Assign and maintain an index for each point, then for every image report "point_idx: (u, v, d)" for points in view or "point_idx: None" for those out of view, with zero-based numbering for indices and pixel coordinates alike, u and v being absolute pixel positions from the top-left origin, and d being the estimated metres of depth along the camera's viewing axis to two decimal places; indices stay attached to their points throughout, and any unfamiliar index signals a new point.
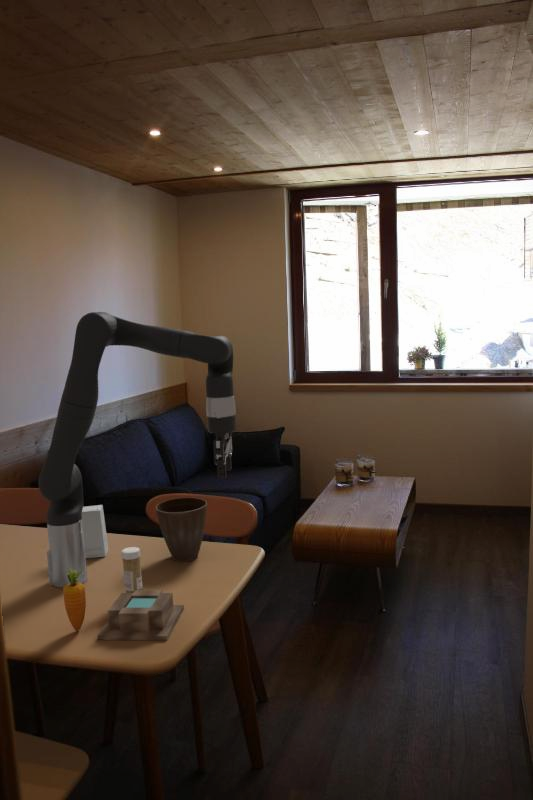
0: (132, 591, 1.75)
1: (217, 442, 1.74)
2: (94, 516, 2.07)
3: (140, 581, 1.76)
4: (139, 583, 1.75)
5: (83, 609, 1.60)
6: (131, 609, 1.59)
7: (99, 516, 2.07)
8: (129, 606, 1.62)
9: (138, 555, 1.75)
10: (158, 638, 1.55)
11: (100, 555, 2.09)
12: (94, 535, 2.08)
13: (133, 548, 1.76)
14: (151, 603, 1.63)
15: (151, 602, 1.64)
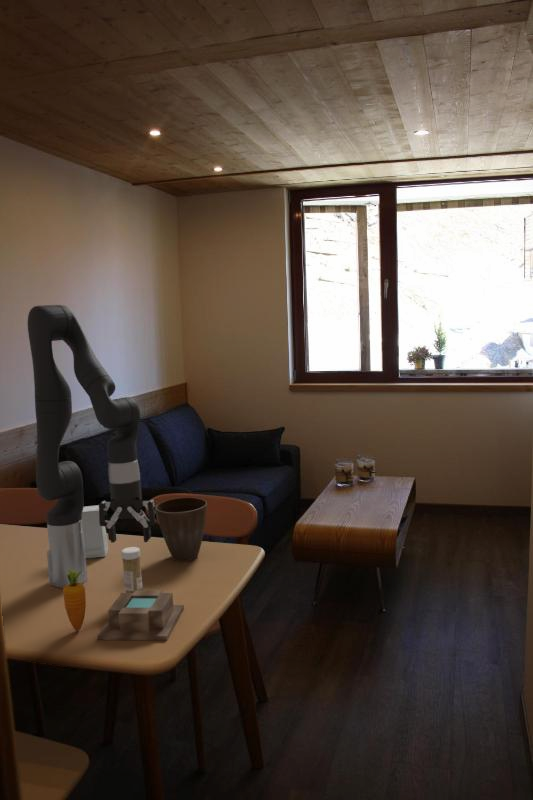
0: (132, 591, 1.75)
1: (153, 502, 1.73)
2: (94, 516, 2.07)
3: (140, 581, 1.76)
4: (139, 583, 1.75)
5: (83, 609, 1.60)
6: (131, 609, 1.59)
7: None
8: (129, 606, 1.62)
9: (138, 555, 1.75)
10: (158, 638, 1.55)
11: (100, 555, 2.09)
12: (94, 535, 2.08)
13: (133, 548, 1.76)
14: (151, 603, 1.63)
15: (151, 602, 1.64)
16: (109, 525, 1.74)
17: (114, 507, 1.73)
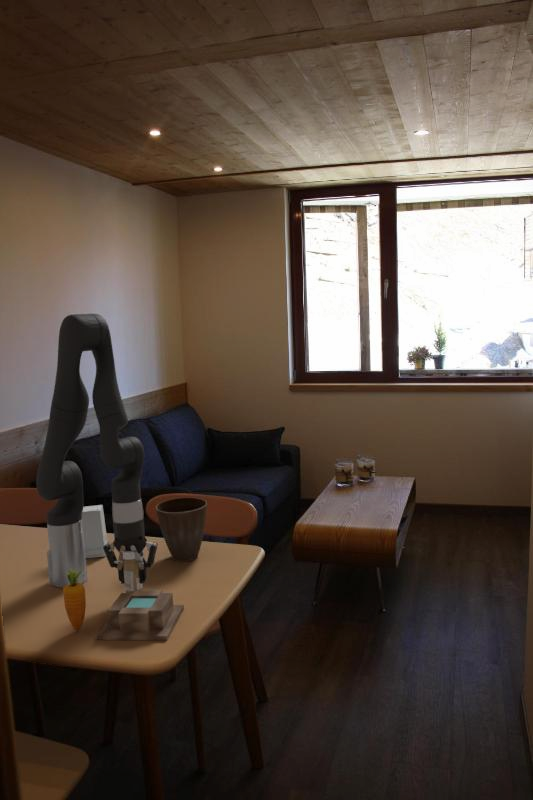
0: (132, 591, 1.75)
1: (156, 546, 1.74)
2: (94, 516, 2.07)
3: None
4: (139, 583, 1.75)
5: (83, 609, 1.60)
6: (131, 609, 1.59)
7: (99, 516, 2.07)
8: (129, 606, 1.62)
9: None
10: (158, 638, 1.55)
11: (100, 555, 2.09)
12: (94, 535, 2.08)
13: None
14: (151, 603, 1.63)
15: (151, 602, 1.64)
16: (119, 566, 1.75)
17: (118, 545, 1.75)
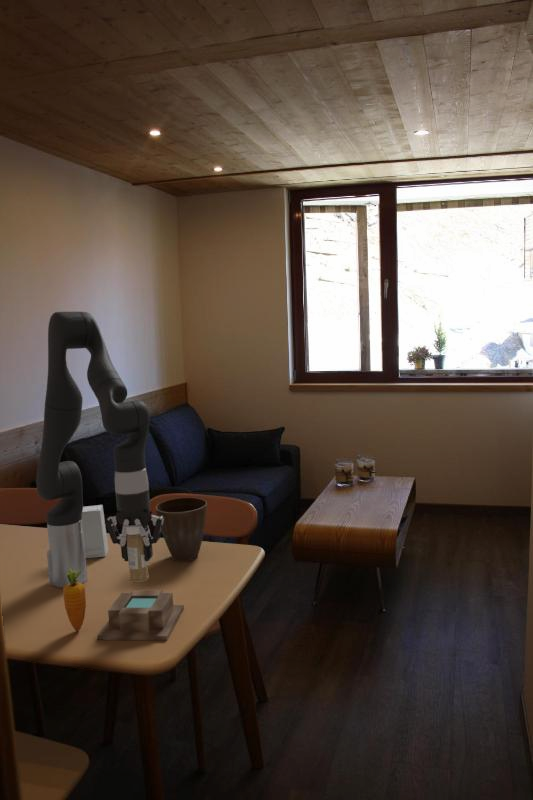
0: (136, 569, 1.60)
1: (162, 519, 1.60)
2: (94, 516, 2.07)
3: None
4: (144, 560, 1.60)
5: (83, 609, 1.60)
6: (131, 609, 1.59)
7: (99, 516, 2.07)
8: (129, 606, 1.62)
9: None
10: (158, 638, 1.55)
11: (100, 555, 2.09)
12: (94, 535, 2.08)
13: None
14: (151, 603, 1.63)
15: (151, 602, 1.64)
16: (122, 542, 1.60)
17: (121, 519, 1.60)
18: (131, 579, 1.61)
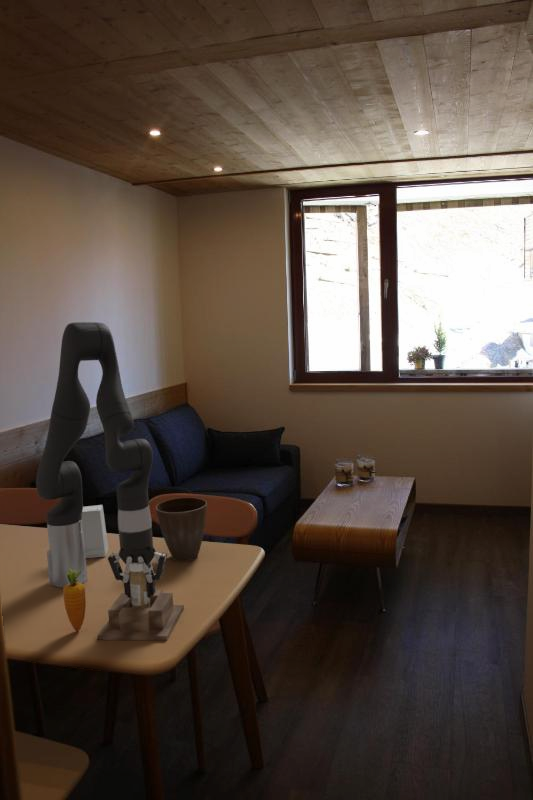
0: (139, 606, 1.61)
1: (165, 557, 1.61)
2: (94, 516, 2.07)
3: None
4: (147, 597, 1.62)
5: (83, 609, 1.60)
6: (131, 609, 1.59)
7: (99, 516, 2.07)
8: None
9: None
10: (158, 638, 1.55)
11: (100, 555, 2.09)
12: (94, 535, 2.08)
13: None
14: None
15: None
16: (125, 579, 1.61)
17: (124, 556, 1.61)
18: None
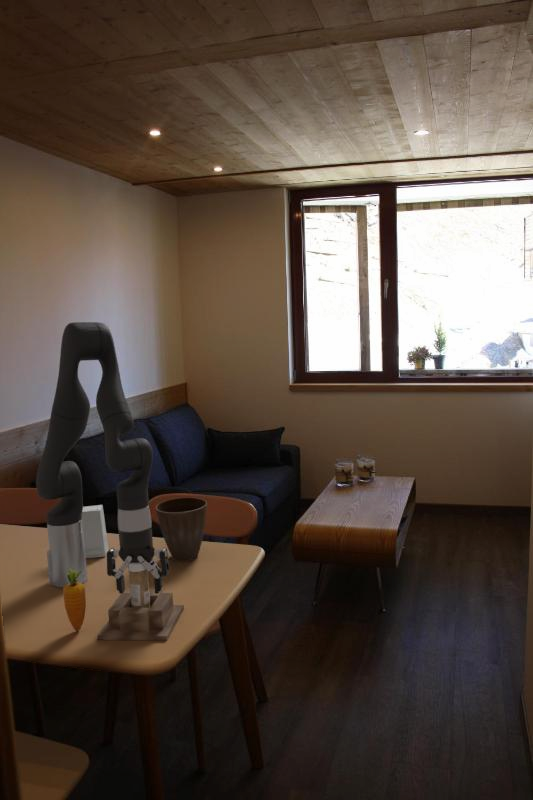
0: (139, 606, 1.61)
1: (165, 551, 1.60)
2: (94, 516, 2.07)
3: (148, 595, 1.62)
4: (147, 597, 1.62)
5: (83, 609, 1.60)
6: (131, 609, 1.59)
7: (99, 516, 2.07)
8: None
9: None
10: (158, 638, 1.55)
11: (100, 555, 2.09)
12: (94, 535, 2.08)
13: None
14: None
15: None
16: (118, 575, 1.61)
17: (123, 556, 1.61)
18: None
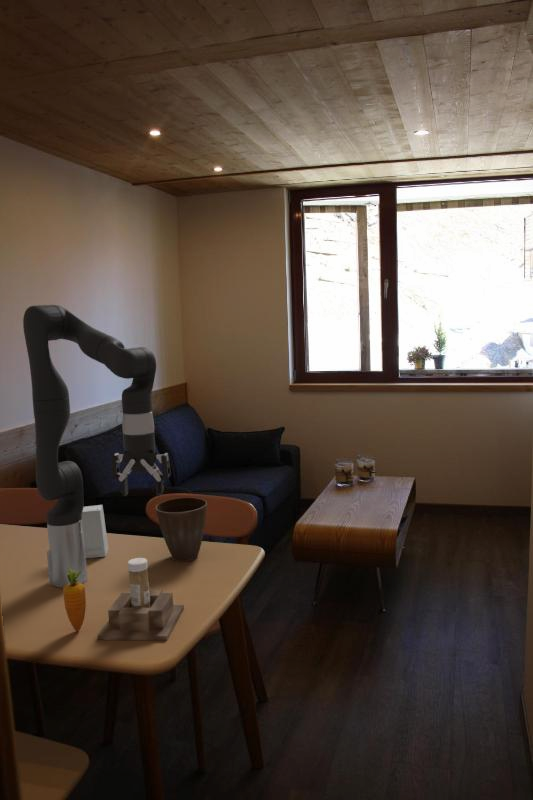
0: (139, 606, 1.61)
1: (166, 455, 1.69)
2: (94, 516, 2.07)
3: (148, 595, 1.62)
4: (147, 597, 1.62)
5: (83, 609, 1.60)
6: (131, 609, 1.59)
7: (99, 516, 2.07)
8: None
9: (146, 567, 1.61)
10: (158, 638, 1.55)
11: (100, 555, 2.09)
12: (94, 535, 2.08)
13: (140, 559, 1.63)
14: None
15: None
16: (121, 478, 1.70)
17: (127, 459, 1.69)
18: None
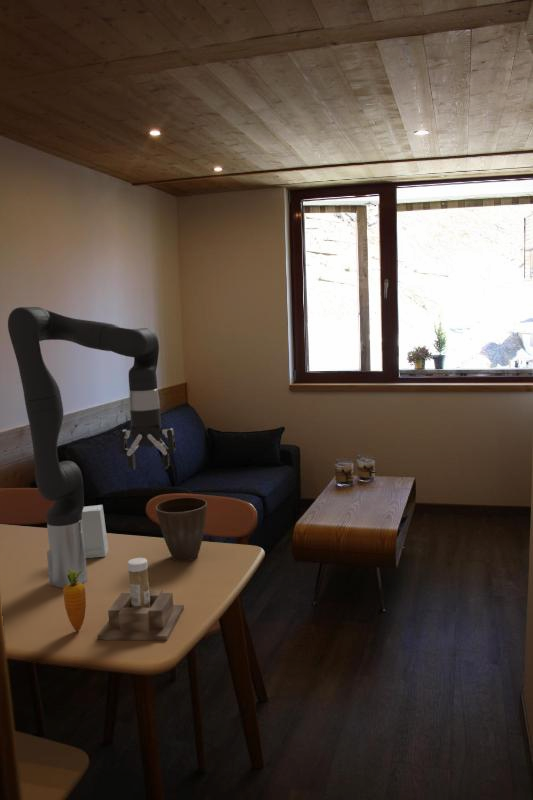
0: (139, 606, 1.61)
1: (172, 430, 1.78)
2: (94, 516, 2.07)
3: (148, 595, 1.62)
4: (147, 597, 1.62)
5: (83, 609, 1.60)
6: (131, 609, 1.59)
7: (99, 516, 2.07)
8: None
9: (146, 567, 1.61)
10: (158, 638, 1.55)
11: (100, 555, 2.09)
12: (94, 535, 2.08)
13: (140, 559, 1.63)
14: None
15: None
16: (129, 452, 1.79)
17: (134, 435, 1.78)
18: None
